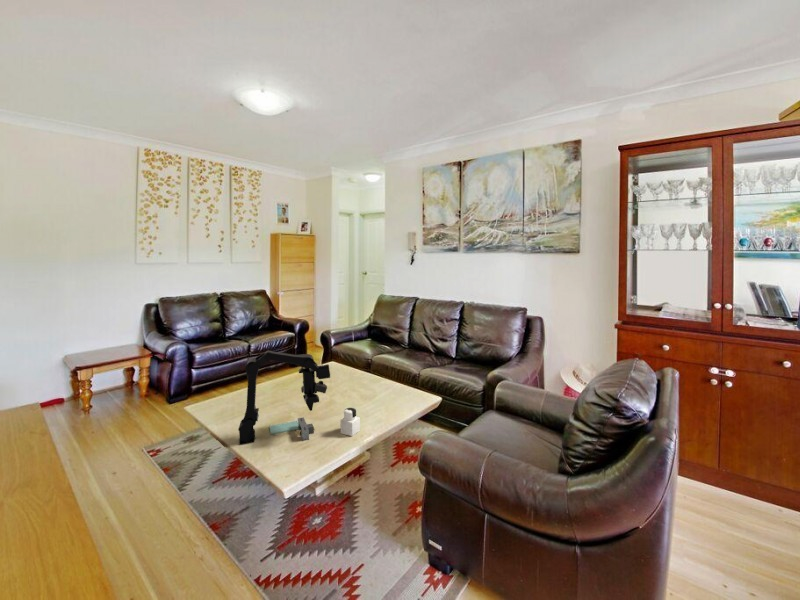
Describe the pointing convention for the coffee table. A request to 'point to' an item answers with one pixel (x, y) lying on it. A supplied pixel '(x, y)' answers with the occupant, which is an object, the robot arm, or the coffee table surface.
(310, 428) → the plug
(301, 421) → the housing
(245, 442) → the robot arm
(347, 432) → the medicine bottle
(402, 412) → the coffee table surface
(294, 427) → the mat
